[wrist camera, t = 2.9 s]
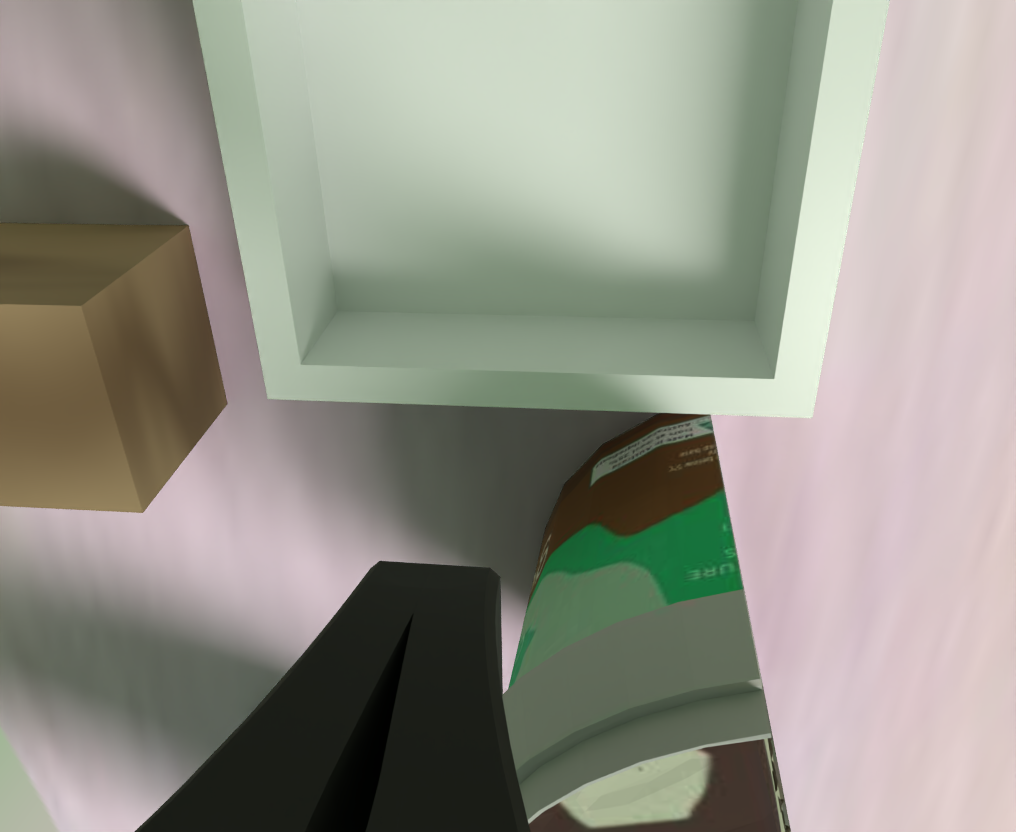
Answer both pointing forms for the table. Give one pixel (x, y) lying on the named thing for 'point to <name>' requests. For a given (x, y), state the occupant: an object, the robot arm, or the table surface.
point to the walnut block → (101, 363)
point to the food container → (643, 651)
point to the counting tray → (543, 195)
